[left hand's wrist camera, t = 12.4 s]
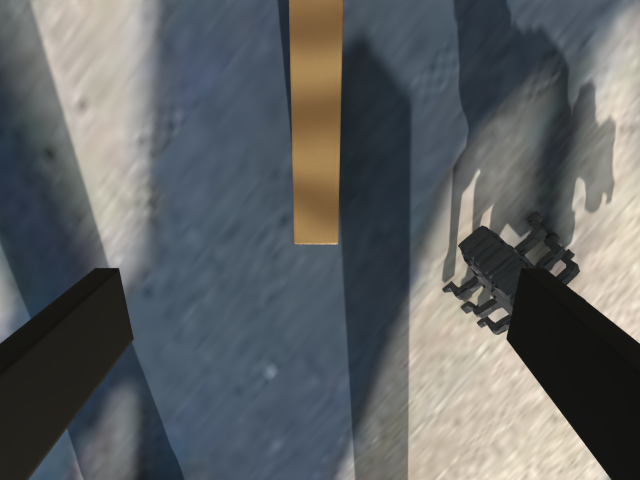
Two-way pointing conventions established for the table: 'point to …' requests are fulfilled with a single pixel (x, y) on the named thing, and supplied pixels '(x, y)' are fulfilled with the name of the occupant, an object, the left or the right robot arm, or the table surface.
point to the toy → (505, 269)
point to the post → (316, 117)
